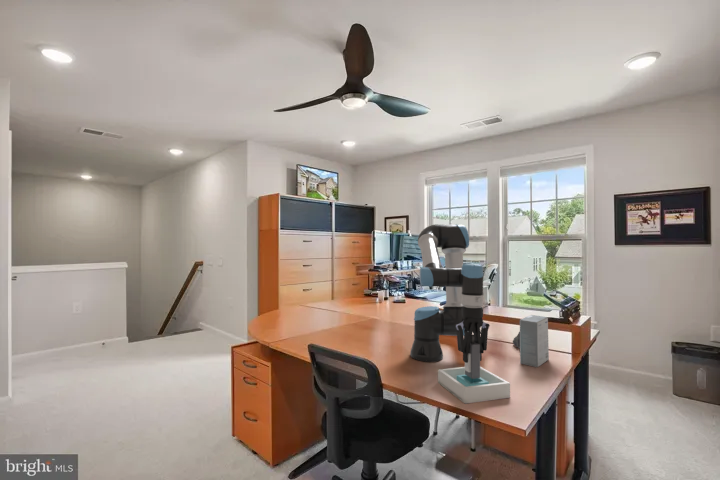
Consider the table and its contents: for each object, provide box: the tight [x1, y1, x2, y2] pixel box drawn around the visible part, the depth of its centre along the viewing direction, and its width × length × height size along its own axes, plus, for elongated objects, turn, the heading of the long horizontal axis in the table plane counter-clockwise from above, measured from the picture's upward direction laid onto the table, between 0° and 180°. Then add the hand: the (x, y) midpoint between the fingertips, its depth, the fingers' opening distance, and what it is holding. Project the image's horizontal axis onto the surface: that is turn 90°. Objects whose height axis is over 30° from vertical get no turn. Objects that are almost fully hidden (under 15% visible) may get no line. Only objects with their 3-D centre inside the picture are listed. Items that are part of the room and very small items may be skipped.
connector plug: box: [465, 333, 481, 379], centre depth 123 cm, size 4×3×15 cm
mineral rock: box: [512, 331, 520, 349], centre depth 175 cm, size 13×11×10 cm
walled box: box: [437, 366, 511, 404], centre depth 123 cm, size 18×18×5 cm
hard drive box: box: [519, 314, 550, 368], centre depth 154 cm, size 16×8×20 cm, turn 134°
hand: (472, 370), depth 123 cm, fingers closed on connector plug, 3 cm apart
